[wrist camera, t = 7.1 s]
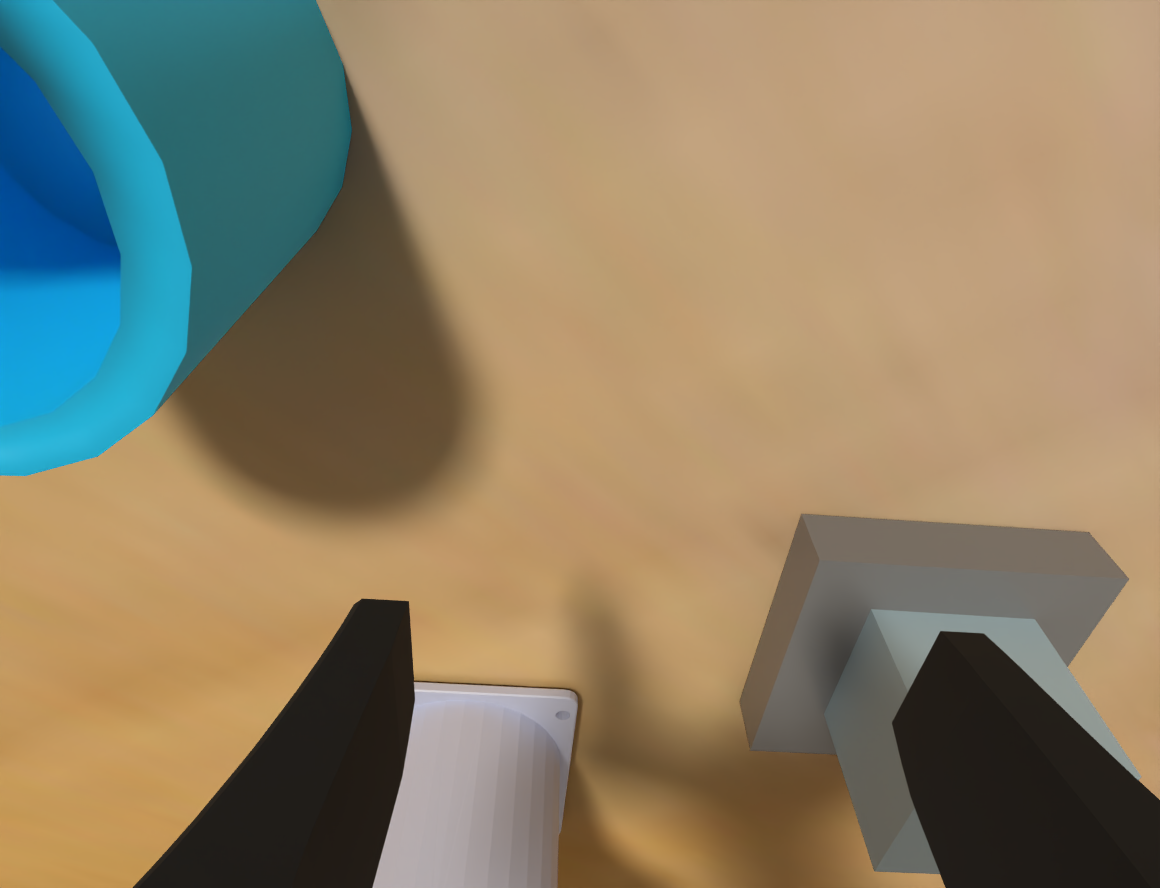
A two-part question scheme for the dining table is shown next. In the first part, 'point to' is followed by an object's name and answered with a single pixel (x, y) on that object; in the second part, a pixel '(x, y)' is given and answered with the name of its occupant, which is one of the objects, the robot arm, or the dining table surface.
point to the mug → (148, 198)
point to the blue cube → (877, 693)
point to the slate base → (907, 604)
